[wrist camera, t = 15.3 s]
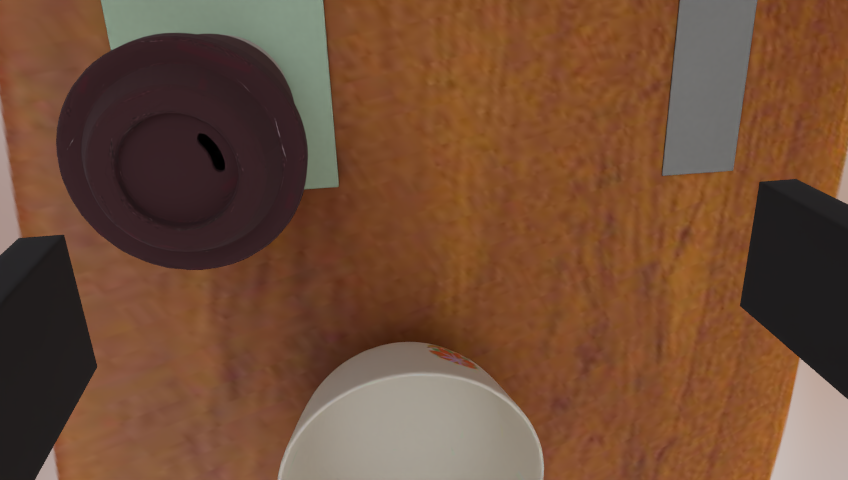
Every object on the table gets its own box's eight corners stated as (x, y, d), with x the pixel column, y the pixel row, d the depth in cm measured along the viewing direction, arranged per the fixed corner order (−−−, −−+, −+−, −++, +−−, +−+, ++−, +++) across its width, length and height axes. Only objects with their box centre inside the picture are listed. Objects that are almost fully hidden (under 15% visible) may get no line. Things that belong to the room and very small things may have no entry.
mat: (102, -8, 39) (98, -8, 38) (321, -17, 40) (321, -17, 39) (143, 198, 43) (141, 201, 43) (338, 184, 44) (339, 187, 44)
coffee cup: (137, 168, 42) (43, 275, 28) (139, -5, 38) (34, 21, 25) (304, 187, 44) (293, 297, 30) (322, 23, 40) (318, 63, 26)
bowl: (239, 402, 50) (219, 504, 40) (396, 247, 47) (412, 320, 37) (400, 511, 55) (414, 623, 46) (549, 379, 52) (596, 471, 43)
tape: (684, -51, 42) (685, -51, 42) (764, -54, 42) (764, -54, 42) (661, 175, 47) (662, 175, 47) (732, 170, 48) (733, 170, 47)
